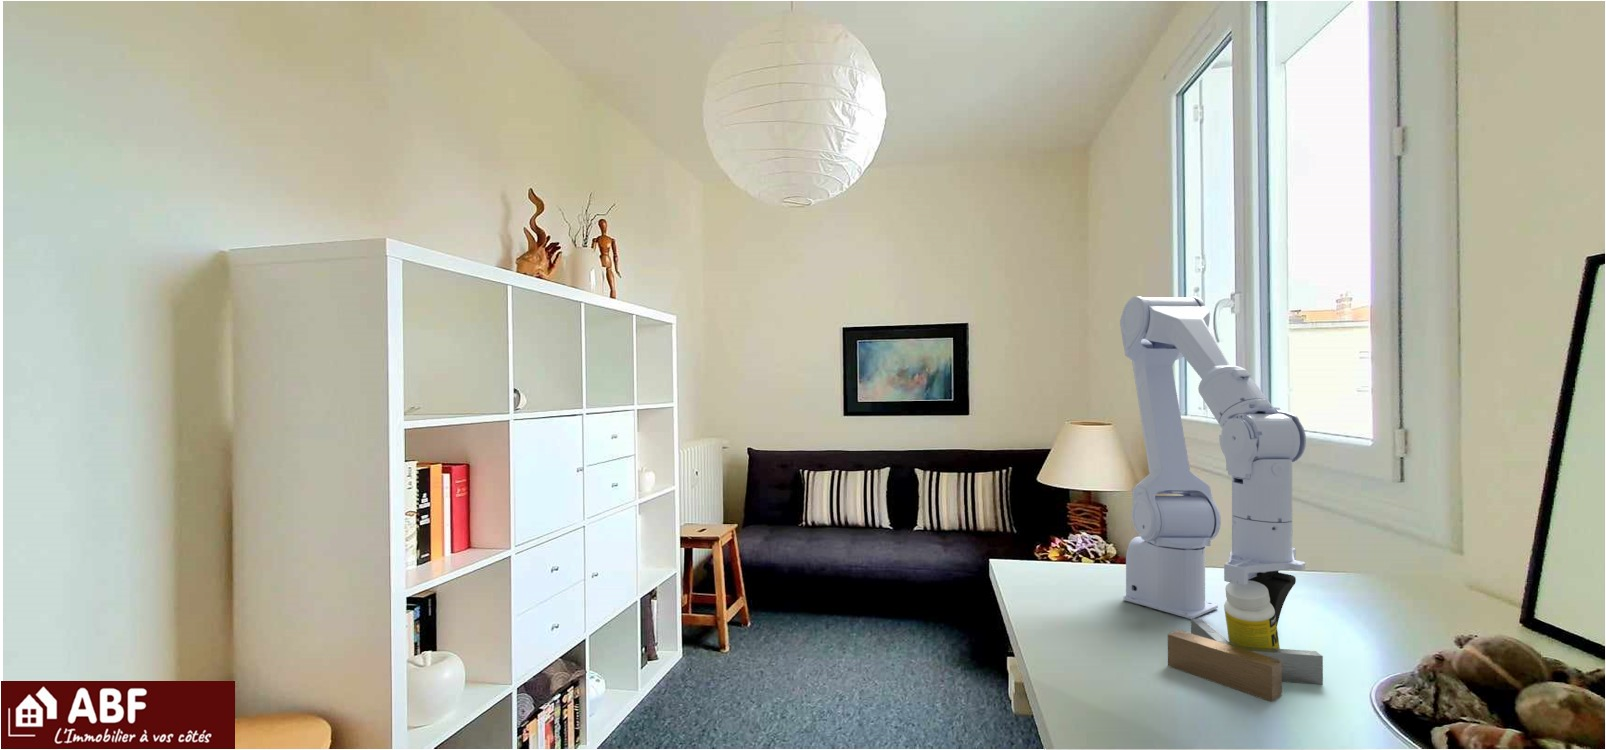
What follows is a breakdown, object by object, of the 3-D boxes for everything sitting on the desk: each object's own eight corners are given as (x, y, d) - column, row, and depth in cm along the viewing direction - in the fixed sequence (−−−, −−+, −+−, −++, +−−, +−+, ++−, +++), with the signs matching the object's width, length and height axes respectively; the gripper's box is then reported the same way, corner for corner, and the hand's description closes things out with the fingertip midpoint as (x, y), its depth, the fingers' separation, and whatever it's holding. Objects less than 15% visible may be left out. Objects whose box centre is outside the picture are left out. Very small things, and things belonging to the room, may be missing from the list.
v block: (1154, 660, 74) (1154, 629, 74) (1194, 641, 79) (1194, 612, 79) (1290, 708, 63) (1290, 672, 63) (1325, 682, 69) (1325, 649, 69)
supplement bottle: (1285, 671, 70) (1276, 601, 69) (1233, 668, 73) (1224, 600, 71) (1276, 644, 75) (1267, 577, 73) (1228, 642, 77) (1218, 577, 75)
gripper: (1276, 532, 68) (1277, 663, 68) (1326, 516, 76) (1327, 632, 76) (1203, 520, 74) (1203, 641, 73) (1257, 506, 82) (1257, 615, 82)
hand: (1261, 635), depth 75 cm, fingers closed, pressing on supplement bottle
